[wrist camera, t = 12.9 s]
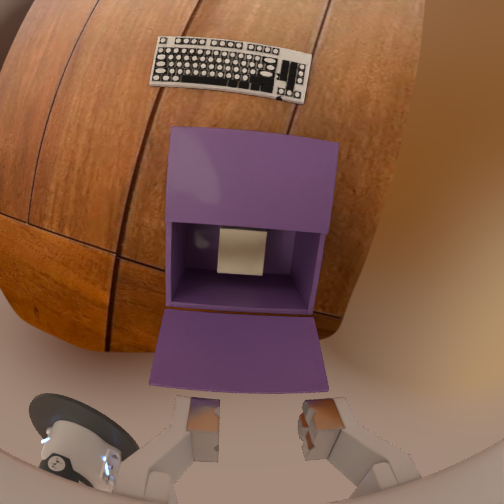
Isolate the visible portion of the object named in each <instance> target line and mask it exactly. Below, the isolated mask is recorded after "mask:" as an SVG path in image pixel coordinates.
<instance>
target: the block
mask: <svg viewBox="0 0 504 504" xmlns="http://www.w3.org/2000/svg"><path fill="white" fill-rule="evenodd" d="M266 240H267V231H266V229H265V228H252V227H239V226H225V225H221V226H220V236H219V251H218V267H217V272H218V273H229V274H243V275H258V276H262V275H263V267H264V258H265V249H266Z"/></svg>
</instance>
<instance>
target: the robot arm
mask: <svg viewBox="0 0 504 504" xmlns="http://www.w3.org/2000/svg"><path fill="white" fill-rule="evenodd" d="M302 409H303V413H302V414H301V415H300V416H299V420H298V434H299V438H300V439H301V440H302V441H304V442H303V445H302V450H303V454H304V458H305V461H307V460H319V459H327V460H328V461H329V462H330V463H331V464H332V465H334V466H335V467H336V468H337V469H338V470H339V471H340V472H341V473H342V474H343V475H344V476H346V477H347V478H348V479H349V480H350V481H351V482H352V483H354V484H355V485H356V486H357V488H356V490H355V491H354V492H353V494H352V495H351V496H350V497H349V499H345V500H341V501H335V502H329V503H323V504H504V439H502V440H500V441H499V442H497V443H495V444H494V445H492V446H490V447H488V448H486V449H485V450H483V451H481V452H479V453H477V454H475V455H473V456H471V457H470V458H467V459H465V460H463V461H461V462H459V463H457V464H455V465H452V466H450V467H448V468H446V469H443V470H441V471H438V472H436V473H433V474H431V475H429V476H426V477H423V478H422V477H421V475H420V473H419V471H418V469H417V467H416V465H415V464H414V462H413V460H412V458H411V456H410V454H408V453H406V452H404V451H402V450H401V449H399V448H398V447H396V446H394V445H393V444H391V443H389V442H388V441H386V440H384V439H383V438H381V437H379V436H378V435H376V434H375V433H373V432H371V431H370V430H368V429H367V428H365V427H364V426H362V427H359V424H358V422H357V420H356V418H355V416H354V414H353V412H352V410H351V408H350V405H349V403H348V401H347V399H346V398H345V397H338V398H327V399H314V400H305V401H304V403H303V406H302ZM219 419H220V400H217V399H205V398H197V397H185V396H177V397H176V399H175V404H174V409H173V414H172V419H171V425H170V429H164V430H163V431H162V432H160V433H159V434H158V435H157V436H155V437H154V438H153V439H151V440H150V441H149V442H148V443H146V444H145V445H144V446H142V447H141V448H140V449H139V450H137V451H136V452H135V453H133V454H132V455H131V456H129V457H128V458H127V459H125V460H124V461H123V462H122V457H121V451H120V450H118V449H117V448H115V447H113V446H111V445H109V444H108V443H106V442H105V441H104V440H103V439H102V438H100V437H99V436H98V435H97V434H95V433H94V432H92V431H90V430H89V429H87V428H85V427H83V426H81V425H79V424H76V423H73V422H70V421H64V420H60V421H56V422H55V423H54V425H53V427H50V428H47V430H46V433H47V435H48V437H47V438H46V439H44V440H42V441H41V442H42V443H44V442H45V445H44V447H43V450H42V453H41V457H42V459H43V460H42V461H41V463H40V465H39V466H38V467H36V466H34V465H32V464H29V463H27V462H25V461H23V460H21V459H19V458H17V457H15V456H13V455H11V454H9V453H7V452H6V451H4V450H2V449H0V504H178V502H177V498H176V495H175V490H174V486H173V485H174V484H175V483H176V482H177V480H178V479H179V478H180V477H181V476H182V475H183V474H184V473H185V471H187V469H188V468H189V467H190V466H191V465H192V464H193V462H194V461H200V462H218V453H219ZM110 485H114V486H113V490H112V493H109V492H106V491H107V490H108V489H109V487H110Z"/></svg>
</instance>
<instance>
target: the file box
mask: <svg viewBox="0 0 504 504" xmlns="http://www.w3.org/2000/svg"><path fill="white" fill-rule="evenodd" d="M338 150H339V143H336V142H331V141H325V140H319V139H313V138H306V137H299V136H292V135H285V134H277V133H268V132H259V131H248V130H237V129H223V128H205V127H175V126H172V127H171V133H170V144H169V156H168V169H167V185H166V204H165V222H166V257H165V275H166V306H172V307H182V308H194V309H207V310H221V311H237V312H255V313H278V314H312V313H313V308H314V302H315V297H316V292H317V286H318V280H319V275H320V269H321V263H322V256H323V250H324V244H325V237H326V234H328V233H329V226H330V219H331V211H332V204H333V196H334V187H335V179H336V170H337V160H338ZM221 225H225V226H239V227H252V228H265V229H266V231H267V240H266V249H265V258H264V267H263V275H262V276H258V275H243V274H229V273H218V272H217V267H218V251H219V236H220V226H221Z"/></svg>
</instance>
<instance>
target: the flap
mask: <svg viewBox="0 0 504 504" xmlns="http://www.w3.org/2000/svg"><path fill="white" fill-rule="evenodd" d="M149 385H153V386H161V387H169V388H177V389H187V390H199V391H212V392H229V393H261V394H262V393H263V394H265V393H266V394H267V393H268V394H273V393H274V394H278V393H279V394H281V393H282V394H283V393H312V392H313V393H315V392H328V391H329V386H328V381H327V376H326V372H325V367H324V362H323V357H322V352H321V348H320V343H319V338H318V334H317V329H316V325H315V321H314V317H282V316H258V315H239V314H223V313H209V312H196V311H184V310H173V309H165V311H164V315H163V319H162V323H161V328H160V332H159V336H158V341H157V345H156V350H155V355H154V359H153V365H152V370H151V374H150V379H149Z"/></svg>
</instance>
